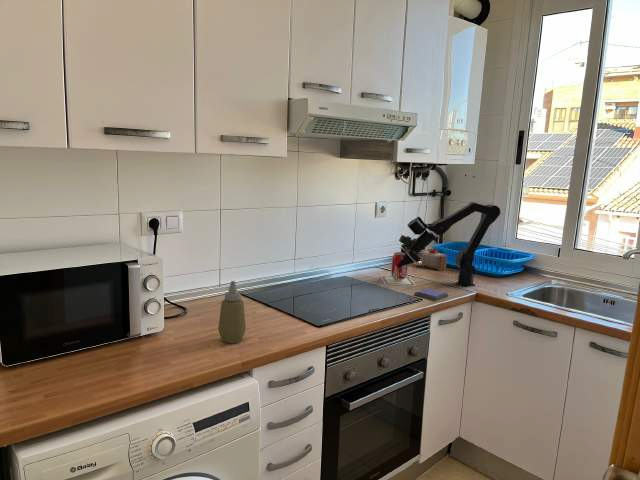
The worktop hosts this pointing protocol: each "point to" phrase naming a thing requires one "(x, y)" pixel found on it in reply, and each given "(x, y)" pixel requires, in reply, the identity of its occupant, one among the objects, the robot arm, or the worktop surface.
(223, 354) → the worktop surface
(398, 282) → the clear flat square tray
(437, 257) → the food item
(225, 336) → the squeeze bottle
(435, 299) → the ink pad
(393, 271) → the soda can
